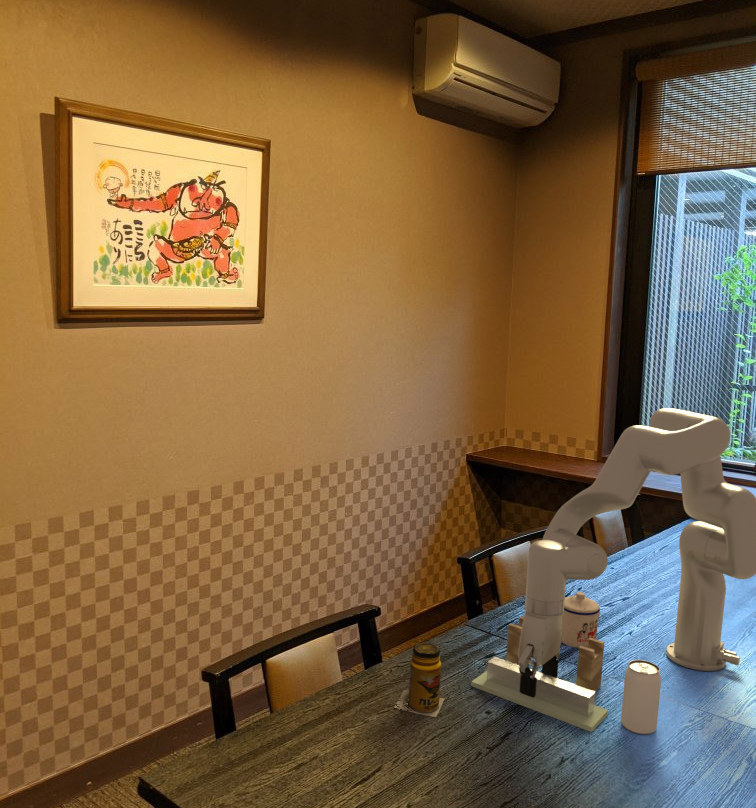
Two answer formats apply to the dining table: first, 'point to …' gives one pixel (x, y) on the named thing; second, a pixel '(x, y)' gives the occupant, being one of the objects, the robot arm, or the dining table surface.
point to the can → (641, 697)
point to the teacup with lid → (579, 620)
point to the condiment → (424, 681)
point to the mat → (541, 704)
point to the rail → (544, 687)
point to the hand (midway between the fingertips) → (538, 685)
